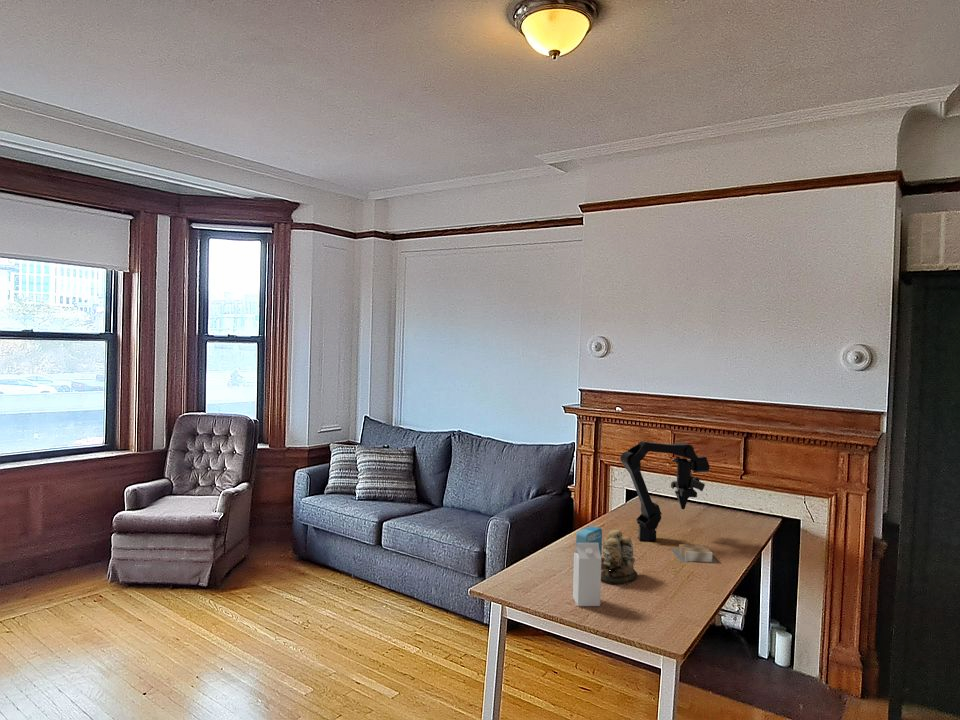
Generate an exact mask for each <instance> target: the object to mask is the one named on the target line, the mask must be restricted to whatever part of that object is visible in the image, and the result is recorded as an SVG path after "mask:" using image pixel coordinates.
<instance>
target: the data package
mask: <svg viewBox="0 0 960 720" xmlns="http://www.w3.org/2000/svg"><path fill="white" fill-rule="evenodd" d="M577 543H599V550H600V555H601V556H602V554H603V529H602V528H600V527H596V526H592V525H591V526H588V527H585V528H583V529H580V530H578V531H577V532H576V537H575V548H576V547H577Z"/></svg>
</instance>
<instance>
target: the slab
mask: <svg viewBox="0 0 960 720" xmlns="http://www.w3.org/2000/svg"><path fill="white" fill-rule="evenodd" d="M678 549H679V554H680V555H681V556H682V557H683V558H684V560H685V561H702V562H701V563H705V562H712V557H713V552H712V550H710V549H709V547H707V546H706V545H705V544H683V543H682V544H681V543H680V544H679V543H678Z"/></svg>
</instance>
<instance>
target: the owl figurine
mask: <svg viewBox="0 0 960 720" xmlns="http://www.w3.org/2000/svg"><path fill="white" fill-rule="evenodd" d="M632 541H633V540H632V538H631V536H628V535H624V536H623V533H622V531H621V530H620V529H611V530H609V532H608V533H607V535H606V538H604V540H603V543H602V554H603V555H602V556H603V557H604V561H603V562H601V566H603V568H604V569H603V570H601V582H603V583H604V582H605V583H608V584H610V585H614V586H621V585H622V586H623V585H626V584H632V583H633V582H635V581H636V580H637V579H638V572H637V571H636V570H635V568H634V564H635V561H636V559H635V557H634V544H633V542H632ZM609 570H611V571H609Z"/></svg>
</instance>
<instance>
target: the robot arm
mask: <svg viewBox="0 0 960 720" xmlns="http://www.w3.org/2000/svg"><path fill="white" fill-rule="evenodd" d="M649 452H650V453H652V452H653V453H654V452H655V453H662V454H663V453H664V454H673V455H676V457H674V459H673V458H672V462H674V463H676V464H677V467H676V470H677V471H676V473H675V477H676V480H673V481H671V483H670V488H671V489H673V490H674V489H676V490H674V494H675V496H676V498H677V501H678V503H679V506H680V509H681V510H685V508H686V506H687V503H688V500H689V498H698V492H697V491H696V490H699V491H701V492H703V490H704V488H705V487H706V485H705V483H704V482H702V481H700V478H699V477H696V476H695V477H693V475H692V472H693V473H699V474H700V473H708V472H709V470H710V463H709V461H708V457H707V456H705V455H703V456H702V455H701V456H698V455H697V454H696V452H695V448H694V447H693V445H692V444H688V443H685V442H675V443H664V442H663V443H662V442H661V443H660V442H651V441H645V440H641V441H640V442H638V443H637V444H636V445H634V446H632V447H630V448H629V449H628V450H626V451H623V453H622V454H621V456H620V462H621V464H622V465H623V468H625V470H626V471H627V473H629V475H630V478H631V480H632V483H633V487H634V488H635V491H636V493H637V497H638V499H639V502H640V512H641V514H640V515H639V516H638V517H637V518H636V523H637V524H638V534H637V535H638V537H637V539H638V540H639V542H641V543H642V542H643V543H656V541H657V529H658V526H659V523H660V522H661V520H662V514H663V513H662V512H661V509H660V506H659V504H657V503H655V502H653V500H652V498H651V495H650V493H649V490H648V488H647V485H646V482H645V480H644V477H643V474H642V472H641V468H642V465H641V461H642V460H644V459H645V457H646V456H647V454H648V453H649ZM694 488H695V489H696V490H695V489H694Z"/></svg>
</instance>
